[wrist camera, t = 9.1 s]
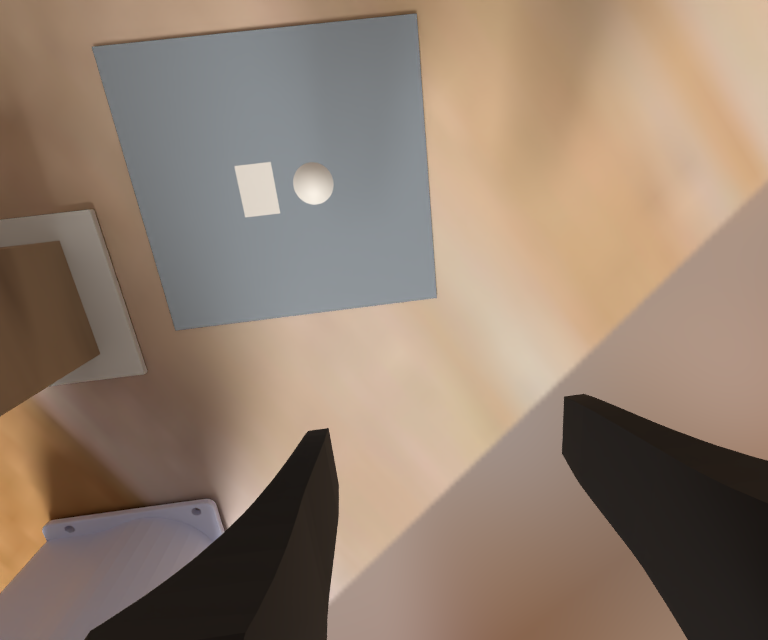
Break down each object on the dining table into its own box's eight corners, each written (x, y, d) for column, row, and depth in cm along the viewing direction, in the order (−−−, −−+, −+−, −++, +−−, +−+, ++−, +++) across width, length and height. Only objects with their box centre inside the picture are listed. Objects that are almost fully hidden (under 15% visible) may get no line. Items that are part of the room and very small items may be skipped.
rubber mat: (-34, 395, 20) (-40, 397, 19) (-115, 233, 17) (-123, 234, 17) (147, 371, 20) (144, 374, 20) (93, 209, 17) (89, 209, 17)
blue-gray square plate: (176, 329, 19) (175, 330, 19) (93, 47, 16) (91, 46, 15) (436, 297, 20) (436, 298, 20) (416, 14, 16) (416, 13, 16)
